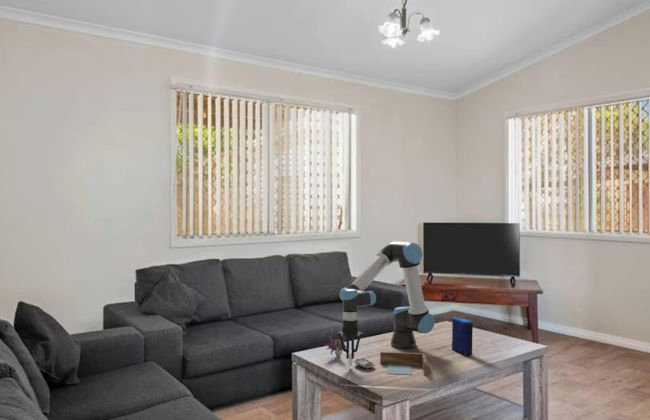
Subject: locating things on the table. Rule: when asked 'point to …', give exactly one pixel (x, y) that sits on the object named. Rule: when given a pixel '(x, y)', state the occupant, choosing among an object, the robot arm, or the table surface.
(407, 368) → the mat
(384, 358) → the corner walls
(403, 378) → the table surface
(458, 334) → the book
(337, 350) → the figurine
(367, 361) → the stone
